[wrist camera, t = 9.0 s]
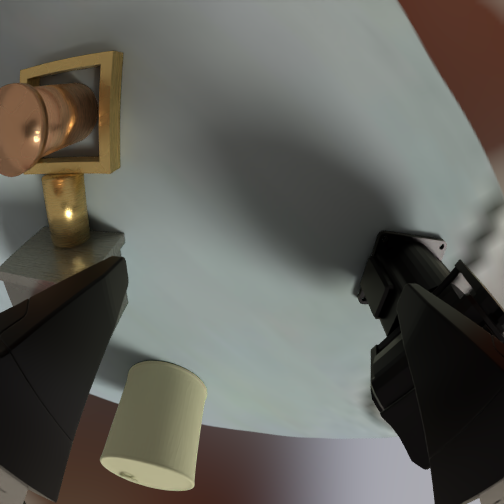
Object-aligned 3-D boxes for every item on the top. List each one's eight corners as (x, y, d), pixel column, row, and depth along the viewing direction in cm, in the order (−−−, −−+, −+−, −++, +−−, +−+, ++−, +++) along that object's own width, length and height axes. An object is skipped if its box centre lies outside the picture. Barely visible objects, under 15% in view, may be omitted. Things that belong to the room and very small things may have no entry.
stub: (104, 74, 16) (40, 75, 10) (102, 146, 19) (44, 175, 12) (46, 83, 16) (-20, 93, 10) (47, 149, 18) (-14, 178, 12)
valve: (119, 168, 19) (43, 223, 11) (133, 303, 25) (95, 386, 17) (35, 168, 19) (-45, 216, 11) (60, 290, 25) (12, 358, 17)
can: (113, 373, 31) (81, 461, 20) (164, 349, 28) (134, 458, 18) (169, 413, 34) (153, 495, 24) (224, 395, 32) (215, 493, 21)
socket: (123, 52, 15) (112, 50, 14) (120, 167, 19) (110, 173, 18) (33, 69, 15) (20, 70, 14) (35, 168, 19) (23, 174, 18)
